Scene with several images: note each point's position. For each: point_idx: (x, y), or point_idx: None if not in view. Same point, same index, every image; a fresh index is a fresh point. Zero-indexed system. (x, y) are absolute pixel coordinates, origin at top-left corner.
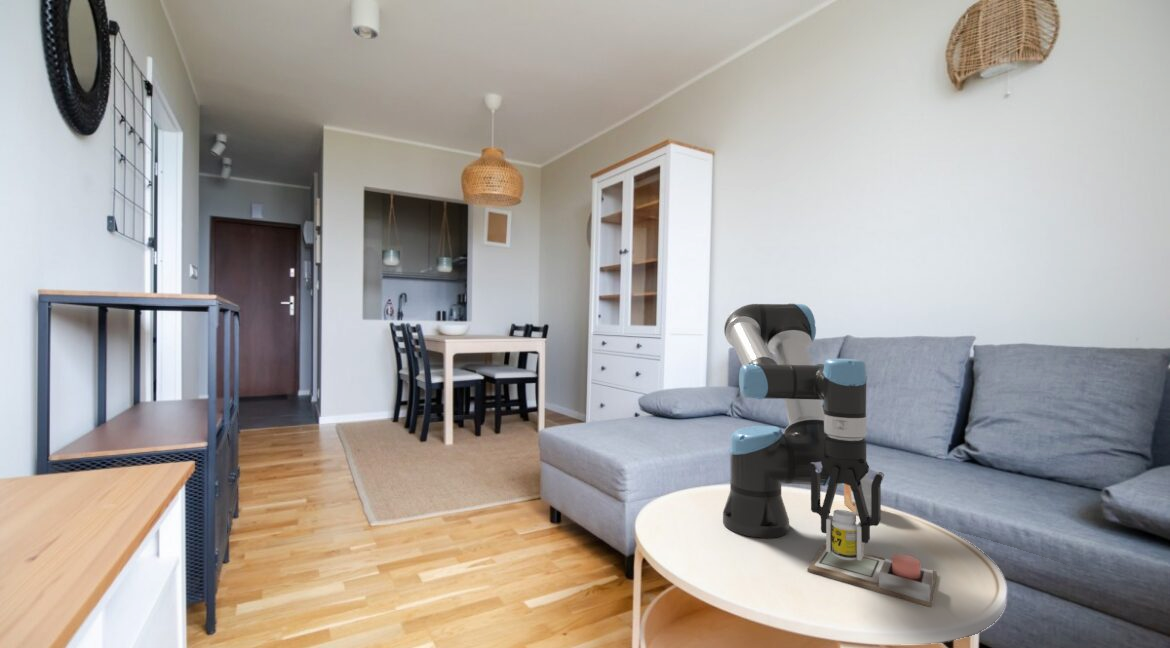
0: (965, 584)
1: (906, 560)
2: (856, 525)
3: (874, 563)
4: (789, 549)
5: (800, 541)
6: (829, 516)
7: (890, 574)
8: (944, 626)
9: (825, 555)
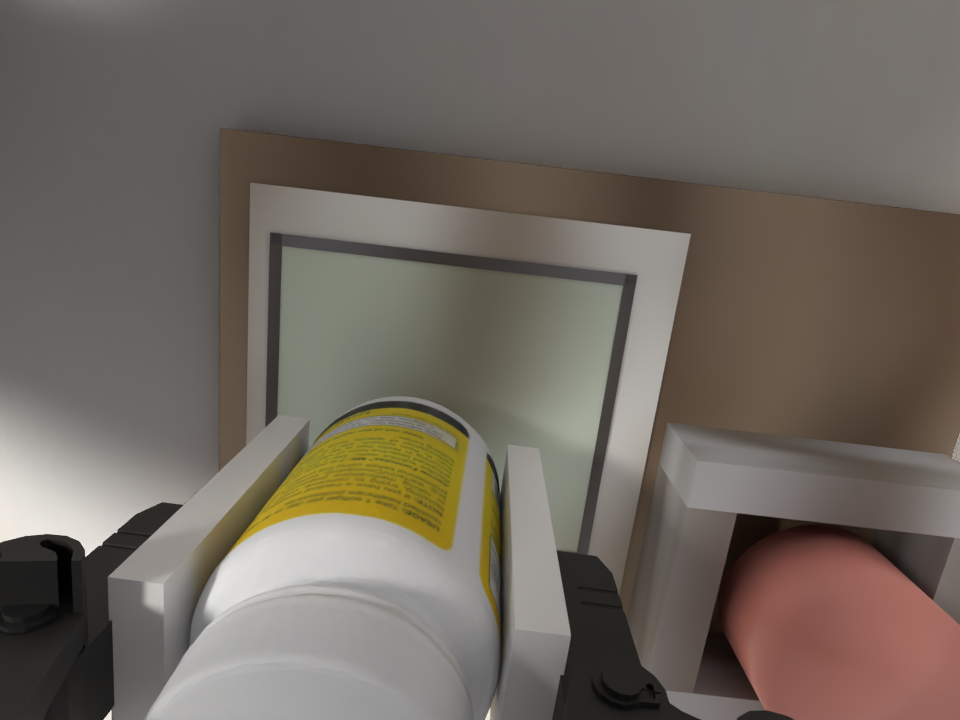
0: None
1: (875, 702)
2: (482, 693)
3: (602, 339)
4: (29, 339)
5: (40, 130)
6: (118, 628)
7: (710, 696)
8: None
9: (274, 393)
